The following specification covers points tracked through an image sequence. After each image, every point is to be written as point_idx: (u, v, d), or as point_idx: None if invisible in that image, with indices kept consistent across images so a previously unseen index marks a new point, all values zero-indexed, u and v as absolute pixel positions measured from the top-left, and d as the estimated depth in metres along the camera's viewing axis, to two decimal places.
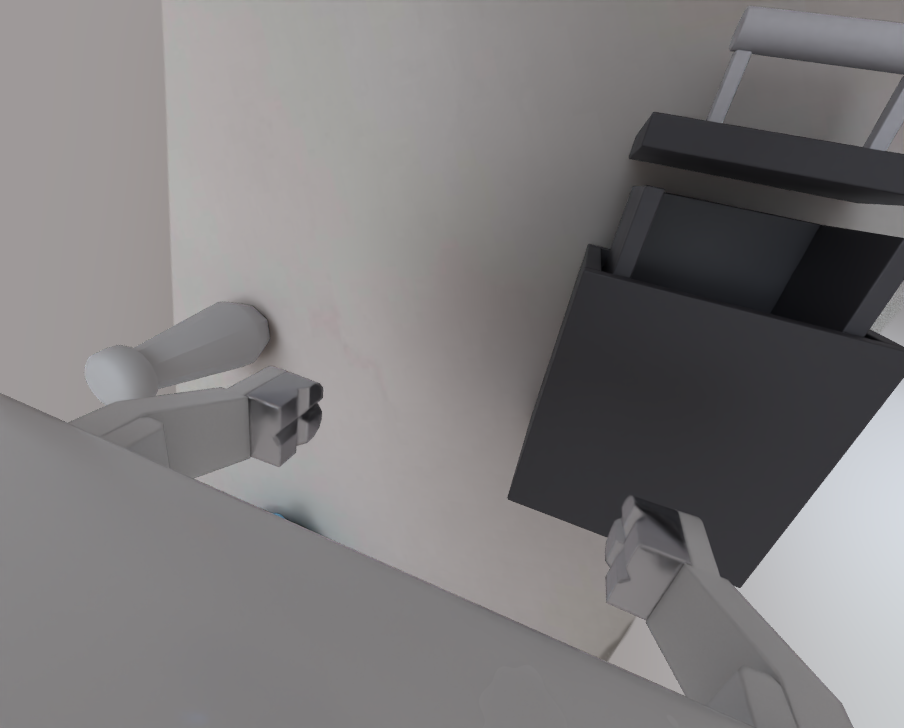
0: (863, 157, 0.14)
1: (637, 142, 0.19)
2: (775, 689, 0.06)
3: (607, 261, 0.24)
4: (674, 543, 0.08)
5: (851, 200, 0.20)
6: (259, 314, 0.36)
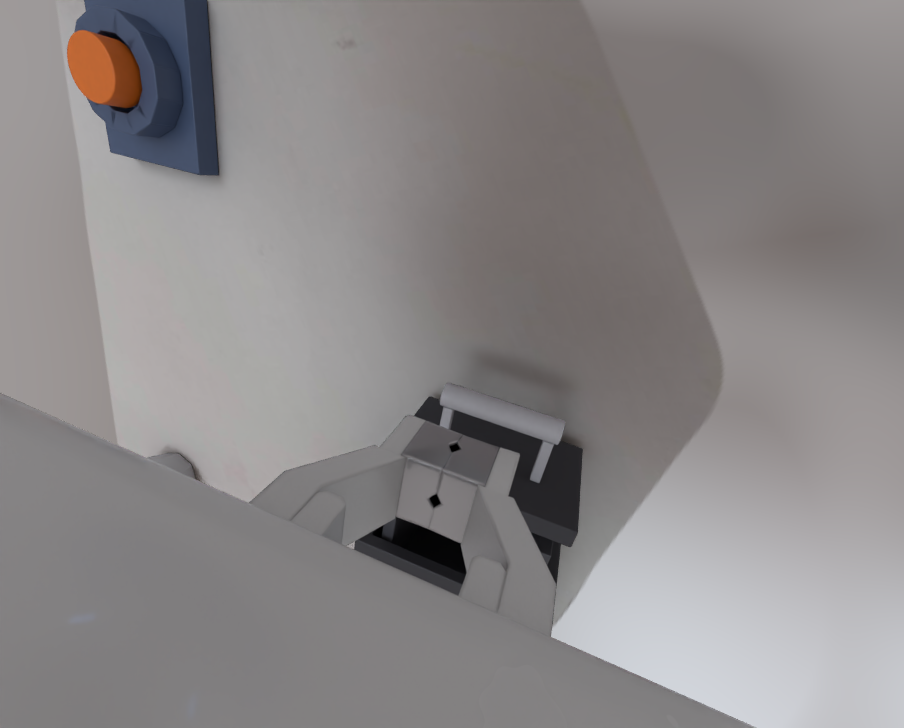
0: None
1: None
2: (497, 572, 0.06)
3: None
4: (479, 470, 0.09)
5: None
6: (184, 461, 0.44)
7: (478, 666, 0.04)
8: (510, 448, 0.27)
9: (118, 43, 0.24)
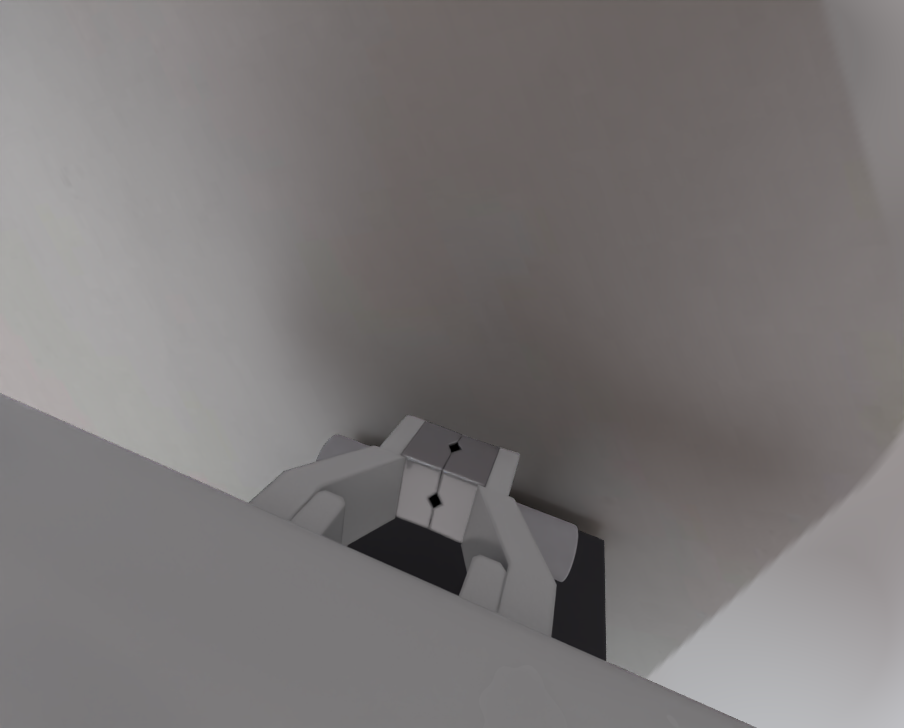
0: None
1: None
2: (497, 572, 0.06)
3: None
4: (479, 470, 0.09)
5: None
6: None
7: (478, 666, 0.04)
8: None
9: None
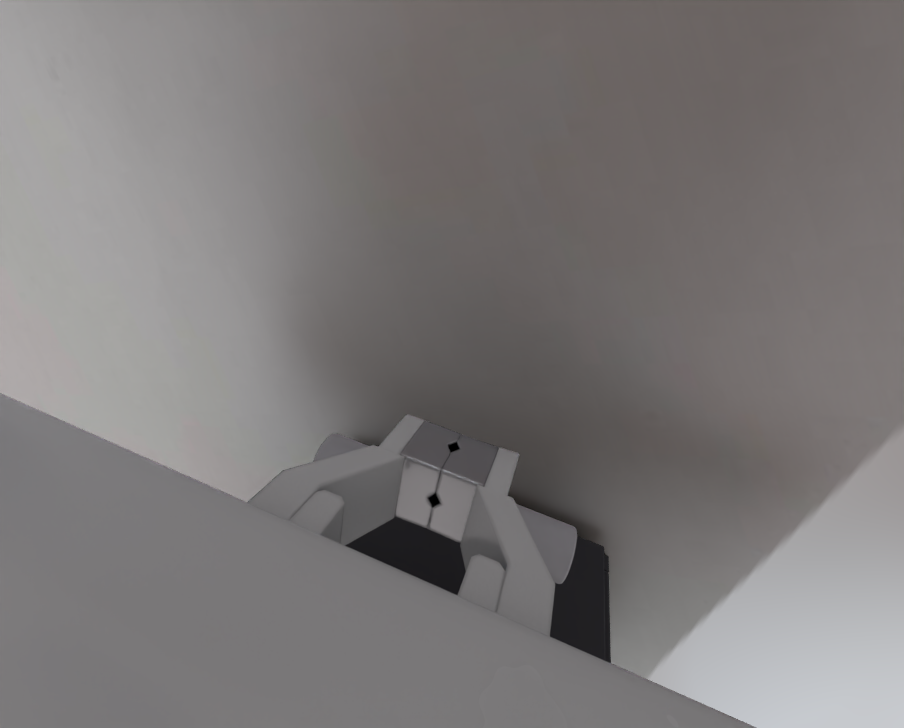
0: None
1: None
2: (496, 571, 0.06)
3: None
4: (478, 470, 0.09)
5: None
6: None
7: (478, 666, 0.04)
8: None
9: None
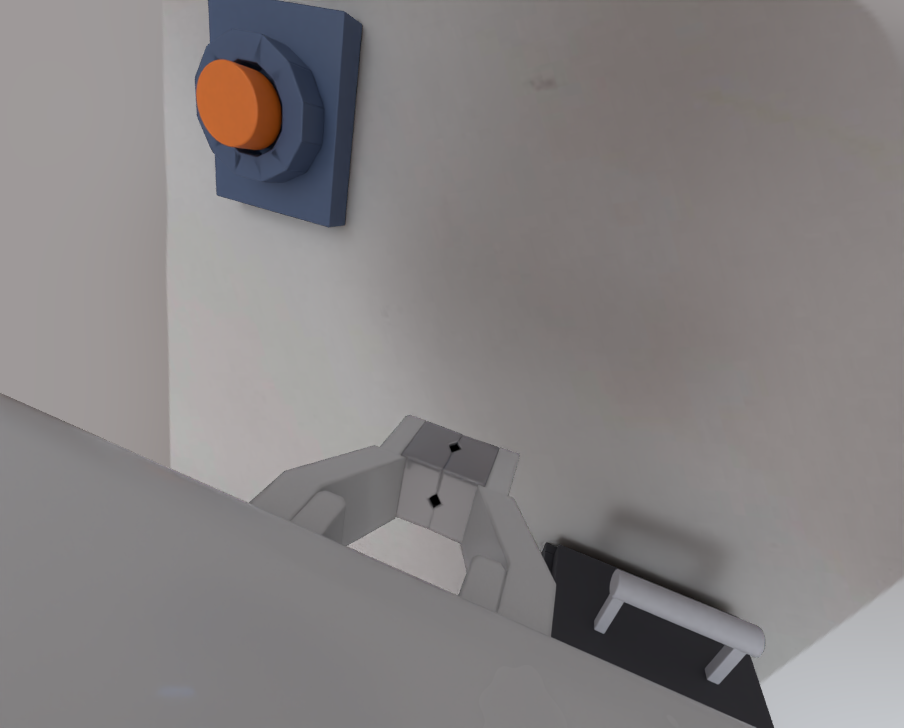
0: None
1: None
2: (497, 571, 0.06)
3: None
4: (479, 470, 0.09)
5: None
6: None
7: (478, 666, 0.04)
8: (668, 625, 0.24)
9: (260, 75, 0.20)
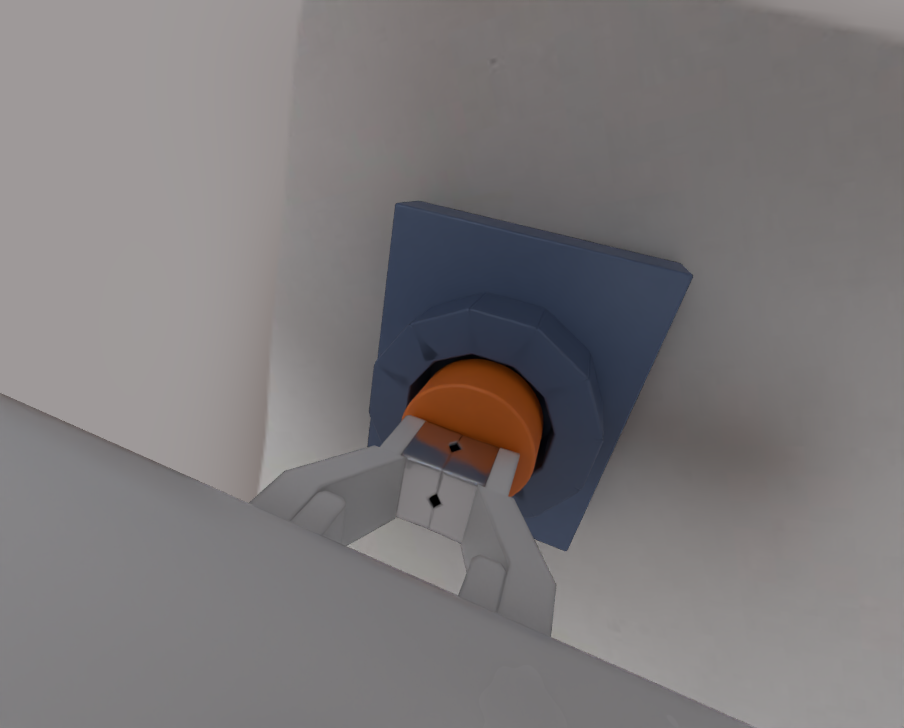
0: None
1: None
2: (497, 571, 0.06)
3: None
4: (479, 470, 0.09)
5: None
6: None
7: (478, 666, 0.04)
8: None
9: (521, 386, 0.11)
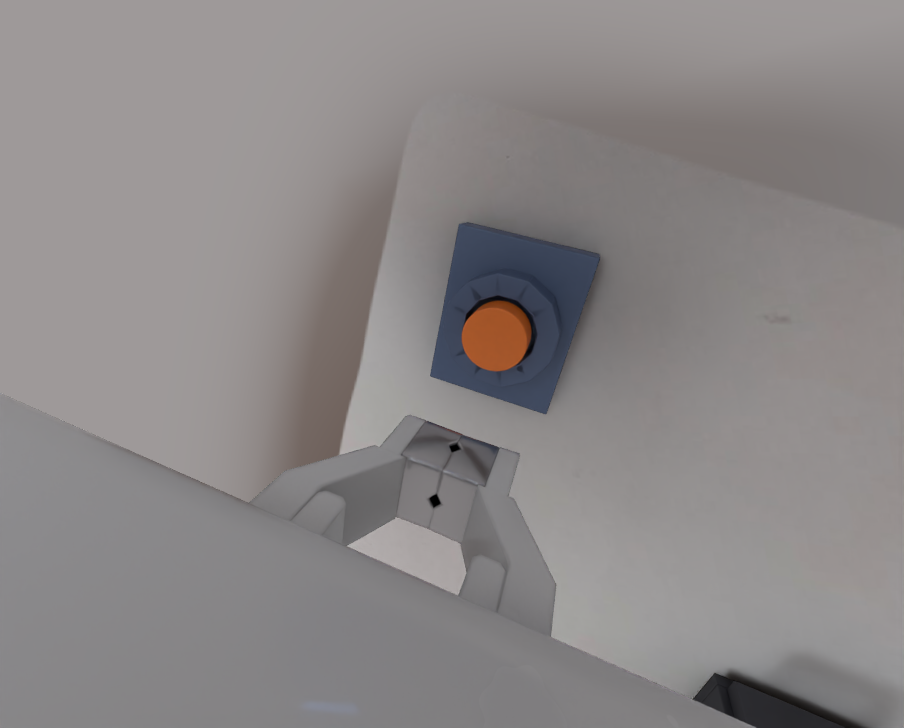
0: None
1: None
2: (497, 572, 0.06)
3: None
4: (479, 470, 0.09)
5: None
6: None
7: (478, 666, 0.04)
8: None
9: (520, 312, 0.22)
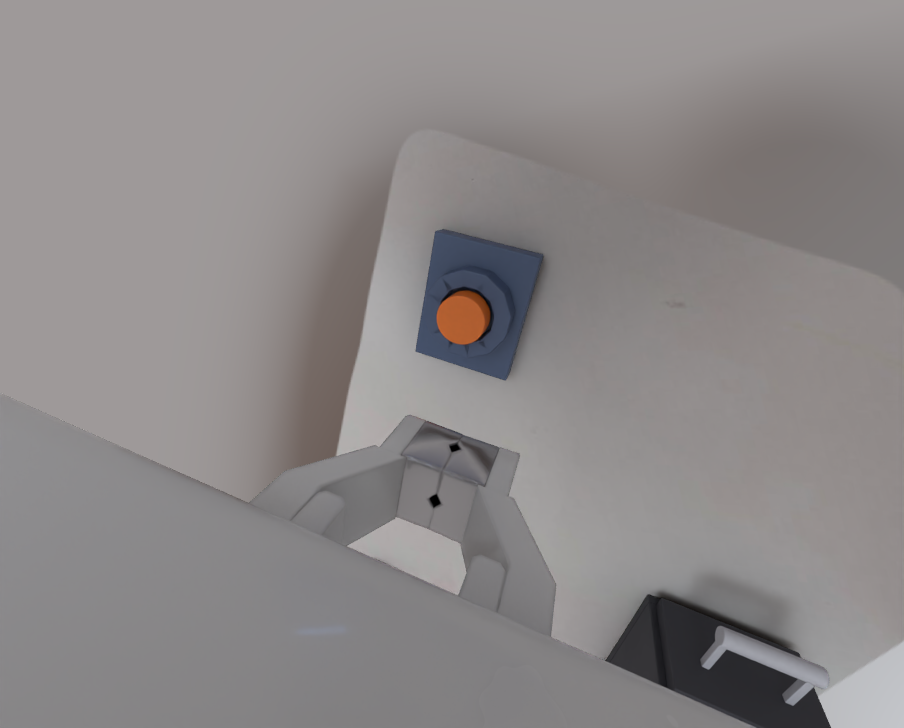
0: None
1: (663, 646, 0.34)
2: (497, 571, 0.06)
3: None
4: (479, 470, 0.09)
5: None
6: None
7: (478, 666, 0.04)
8: (751, 661, 0.34)
9: (481, 299, 0.29)
